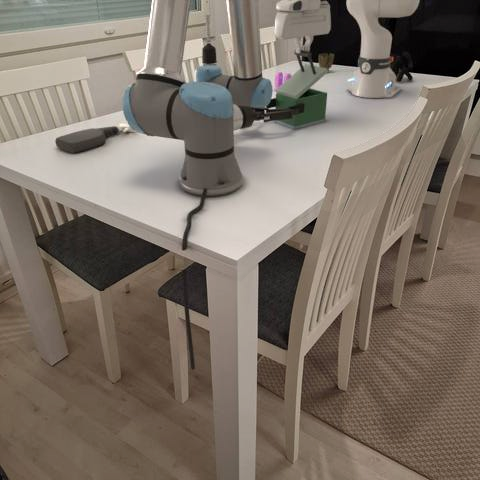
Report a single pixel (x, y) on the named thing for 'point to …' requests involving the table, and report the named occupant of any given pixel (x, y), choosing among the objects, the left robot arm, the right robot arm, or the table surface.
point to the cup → (326, 60)
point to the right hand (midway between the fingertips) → (302, 52)
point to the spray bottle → (88, 138)
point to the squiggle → (401, 66)
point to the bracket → (281, 79)
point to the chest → (312, 108)
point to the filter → (208, 48)
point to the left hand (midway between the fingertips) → (292, 104)
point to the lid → (301, 78)
